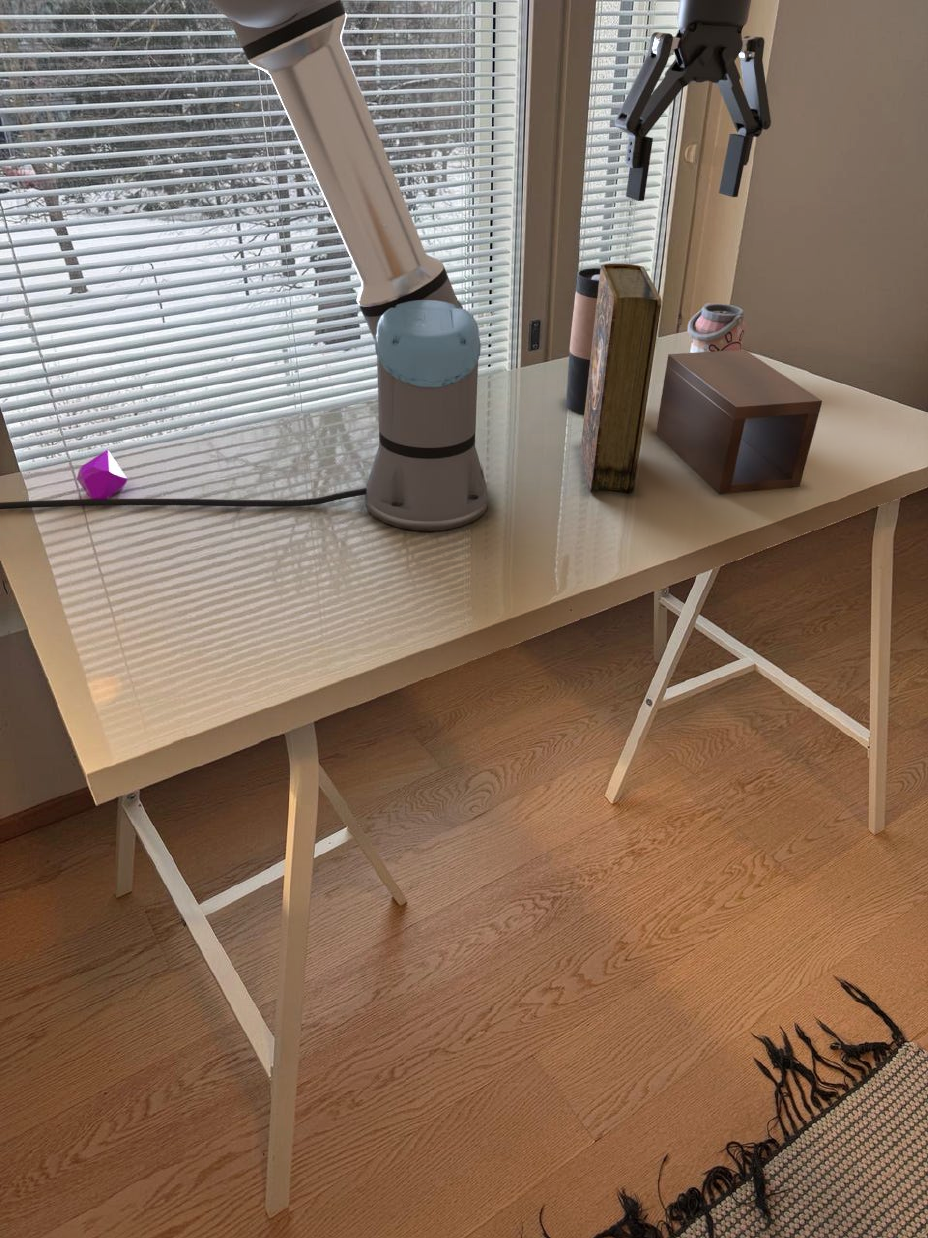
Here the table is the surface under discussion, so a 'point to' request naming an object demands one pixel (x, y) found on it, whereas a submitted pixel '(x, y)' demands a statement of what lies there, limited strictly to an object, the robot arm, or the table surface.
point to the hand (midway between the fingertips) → (682, 197)
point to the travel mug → (582, 338)
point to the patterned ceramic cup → (717, 328)
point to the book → (619, 376)
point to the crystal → (101, 477)
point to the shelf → (736, 420)
